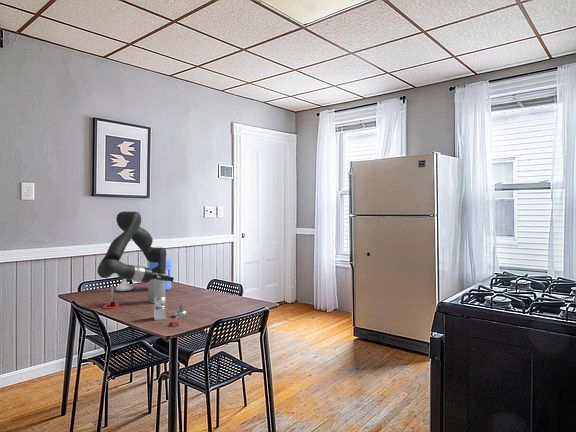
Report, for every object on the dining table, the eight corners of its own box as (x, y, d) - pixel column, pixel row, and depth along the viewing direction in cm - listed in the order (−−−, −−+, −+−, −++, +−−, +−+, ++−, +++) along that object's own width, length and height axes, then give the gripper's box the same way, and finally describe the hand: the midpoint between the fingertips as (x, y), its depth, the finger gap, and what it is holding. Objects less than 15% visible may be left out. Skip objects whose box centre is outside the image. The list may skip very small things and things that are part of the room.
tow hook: (116, 309, 237) (120, 305, 246) (115, 287, 236) (120, 283, 245) (100, 310, 236) (105, 305, 245) (100, 287, 235) (105, 284, 244)
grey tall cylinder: (154, 320, 213) (154, 298, 213) (153, 317, 218) (153, 296, 218) (166, 319, 215) (166, 297, 215) (164, 316, 221) (164, 295, 220)
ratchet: (182, 325, 203) (182, 312, 203) (168, 326, 202) (168, 312, 202) (187, 314, 225) (187, 301, 225) (175, 314, 224) (175, 302, 224)
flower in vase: (126, 288, 296) (126, 253, 296) (136, 290, 290) (136, 254, 289) (109, 291, 286) (109, 255, 285) (119, 293, 279) (119, 256, 279)
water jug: (149, 292, 284) (149, 251, 283) (147, 288, 298) (147, 249, 298) (172, 290, 290) (172, 250, 290) (169, 286, 305) (169, 248, 304)
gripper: (148, 267, 204) (177, 272, 214) (135, 266, 214) (163, 271, 225) (145, 282, 202) (174, 287, 213) (132, 280, 212) (160, 285, 223)
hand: (168, 279), depth 219 cm, fingers open, 8 cm apart
